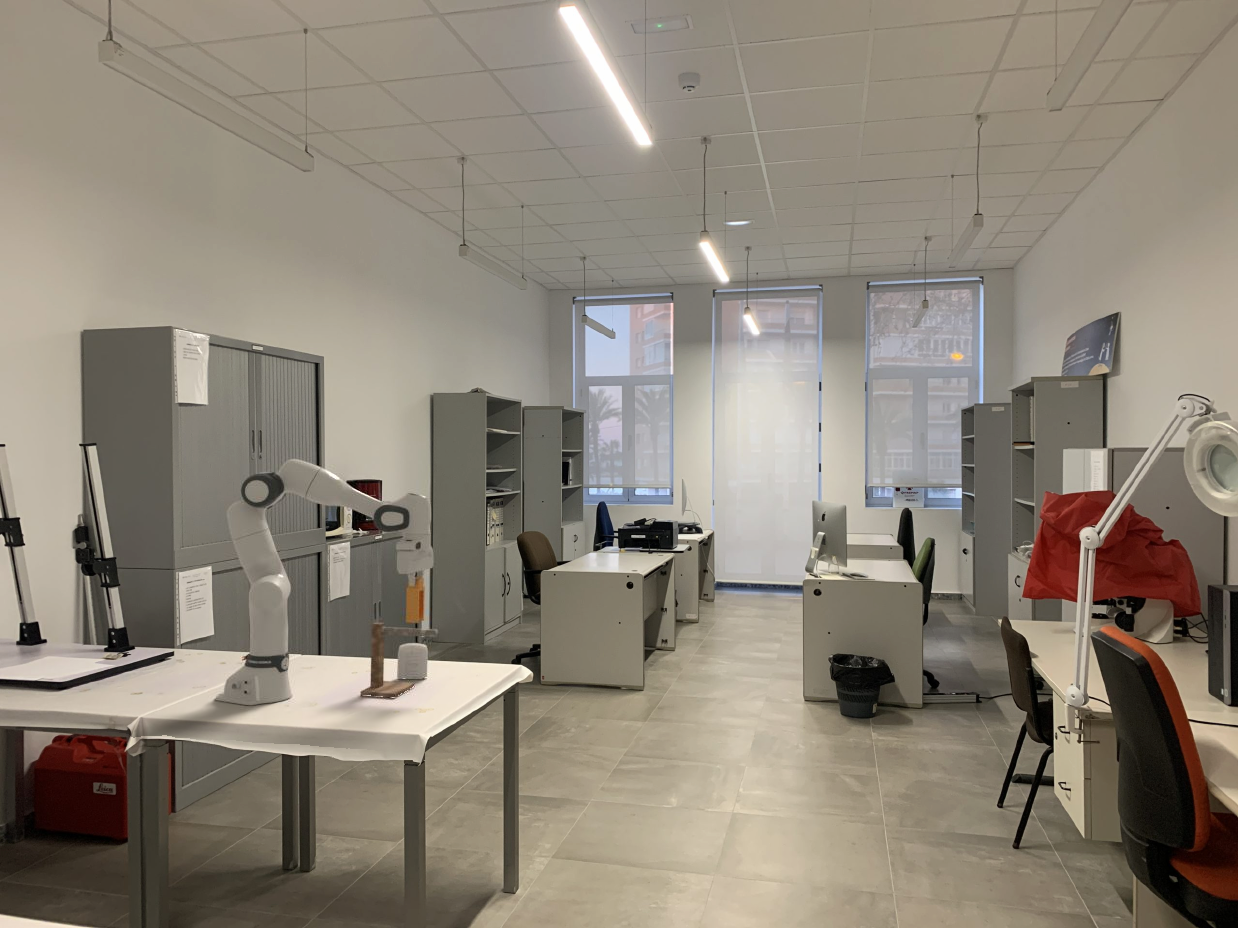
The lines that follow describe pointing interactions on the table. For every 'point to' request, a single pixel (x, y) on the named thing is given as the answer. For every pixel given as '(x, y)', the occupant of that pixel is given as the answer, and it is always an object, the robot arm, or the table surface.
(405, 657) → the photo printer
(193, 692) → the table surface
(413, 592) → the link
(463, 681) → the table surface
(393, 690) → the stand
